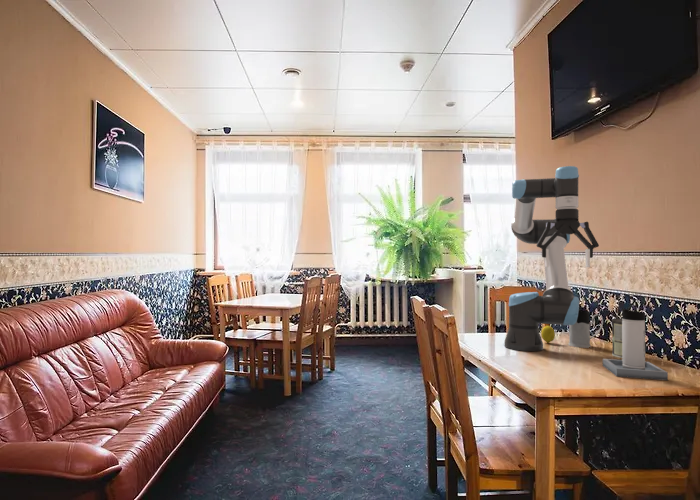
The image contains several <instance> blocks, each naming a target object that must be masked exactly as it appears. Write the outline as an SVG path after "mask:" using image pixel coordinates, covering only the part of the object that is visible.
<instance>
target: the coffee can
mask: <svg viewBox="0 0 700 500" xmlns="http://www.w3.org/2000/svg"><path fill="white" fill-rule="evenodd" d="M622 321H623V320H622V318H612V319H611V322H612V323H611V325H612V332H611V333H612V334H611V335H612V354H611V355H612V357H615V358H618V359H622Z"/></svg>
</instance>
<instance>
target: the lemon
mask: <svg viewBox="0 0 700 500" xmlns="http://www.w3.org/2000/svg"><path fill="white" fill-rule="evenodd" d="M540 336H541V339H542V341H545V342H546V343H547V344H549V343H551V342H553V341H554V339H555V338H556V333H555V329H554V328H553V327H552V326H550V324H546V325H545V326H544V327H543V328H542V329H541V332H540Z"/></svg>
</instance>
